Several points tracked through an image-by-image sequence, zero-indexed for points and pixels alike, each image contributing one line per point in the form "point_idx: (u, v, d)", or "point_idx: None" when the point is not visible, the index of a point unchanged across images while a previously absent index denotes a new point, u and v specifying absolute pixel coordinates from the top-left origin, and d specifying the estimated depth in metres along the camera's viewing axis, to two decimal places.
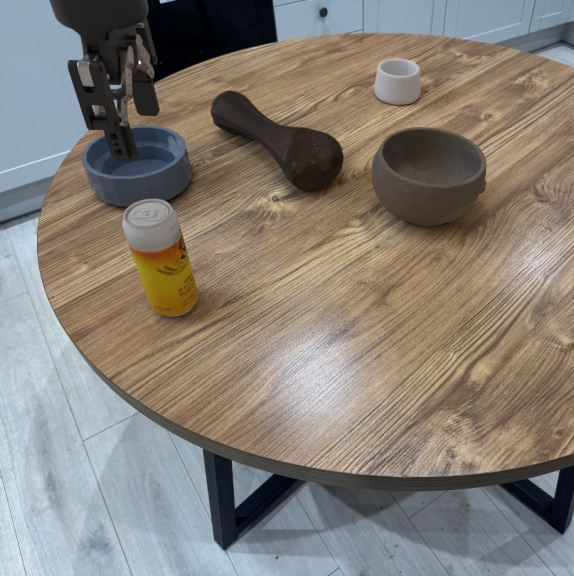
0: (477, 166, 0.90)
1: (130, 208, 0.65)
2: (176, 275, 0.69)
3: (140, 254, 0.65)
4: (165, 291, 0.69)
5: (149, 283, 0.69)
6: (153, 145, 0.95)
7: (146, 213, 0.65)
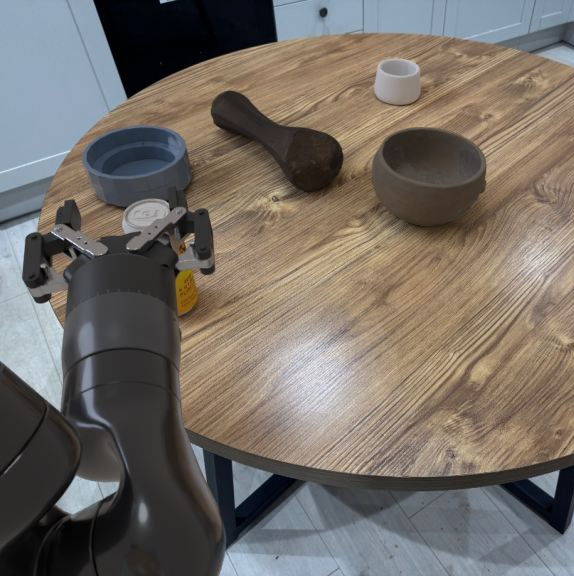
0: (477, 166, 0.90)
1: (130, 208, 0.65)
2: None
3: None
4: None
5: None
6: (153, 145, 0.95)
7: (146, 213, 0.65)
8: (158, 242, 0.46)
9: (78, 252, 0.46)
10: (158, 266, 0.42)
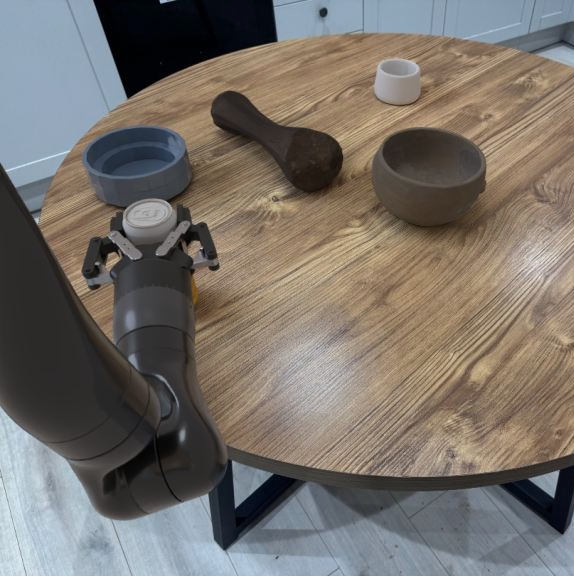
0: (477, 166, 0.90)
1: (130, 208, 0.65)
2: None
3: None
4: None
5: None
6: (153, 145, 0.95)
7: (146, 212, 0.65)
8: (178, 250, 0.62)
9: (124, 253, 0.62)
10: (179, 268, 0.58)
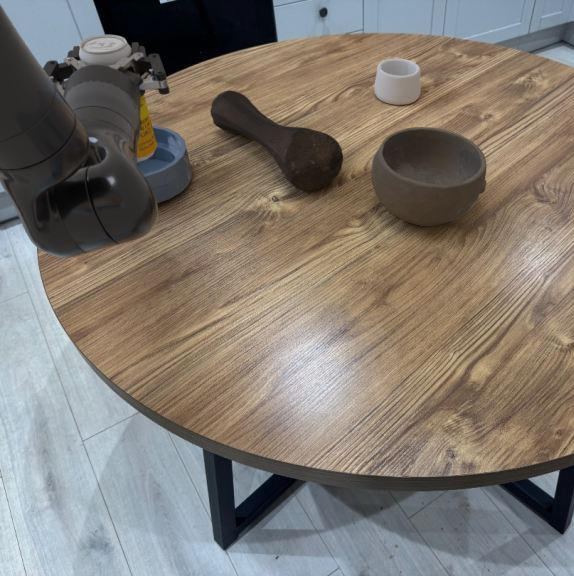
0: (477, 166, 0.90)
1: (87, 41, 0.69)
2: None
3: None
4: None
5: None
6: None
7: (101, 43, 0.68)
8: (129, 71, 0.65)
9: None
10: (127, 77, 0.62)
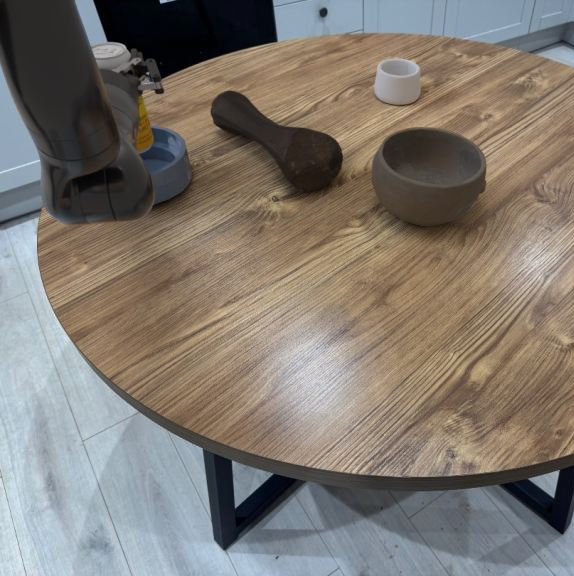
0: (477, 166, 0.90)
1: None
2: None
3: None
4: None
5: None
6: (153, 145, 0.95)
7: (104, 50, 0.78)
8: (129, 74, 0.75)
9: None
10: (127, 79, 0.72)
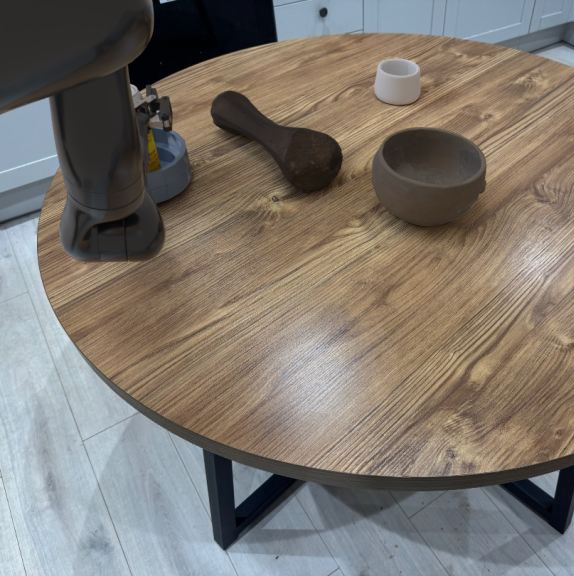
0: (477, 166, 0.90)
1: None
2: None
3: None
4: None
5: None
6: None
7: None
8: (138, 111, 0.79)
9: None
10: (137, 118, 0.76)
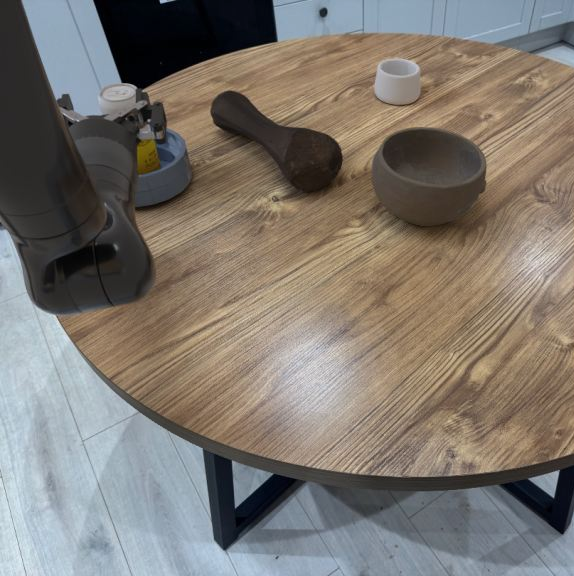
0: (477, 166, 0.90)
1: (104, 89, 0.83)
2: (142, 147, 0.86)
3: None
4: None
5: None
6: None
7: (116, 91, 0.82)
8: (126, 120, 0.67)
9: (71, 125, 0.67)
10: (124, 129, 0.63)
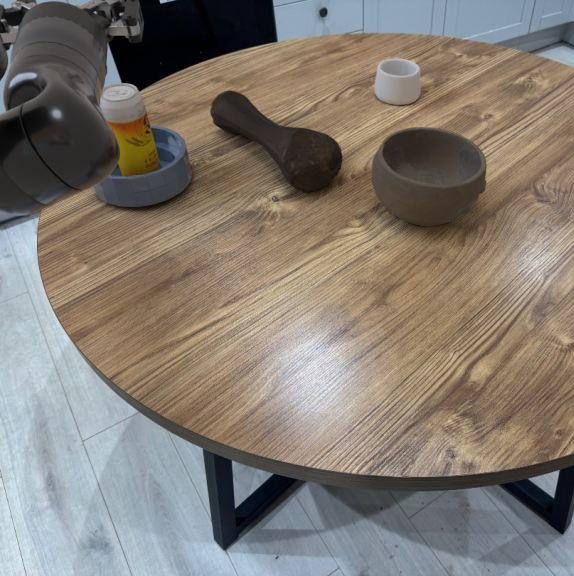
0: (477, 166, 0.90)
1: (104, 89, 0.83)
2: (142, 147, 0.86)
3: (112, 125, 0.83)
4: (133, 160, 0.87)
5: (120, 153, 0.86)
6: None
7: (116, 91, 0.82)
8: None
9: None
10: (90, 17, 0.55)
